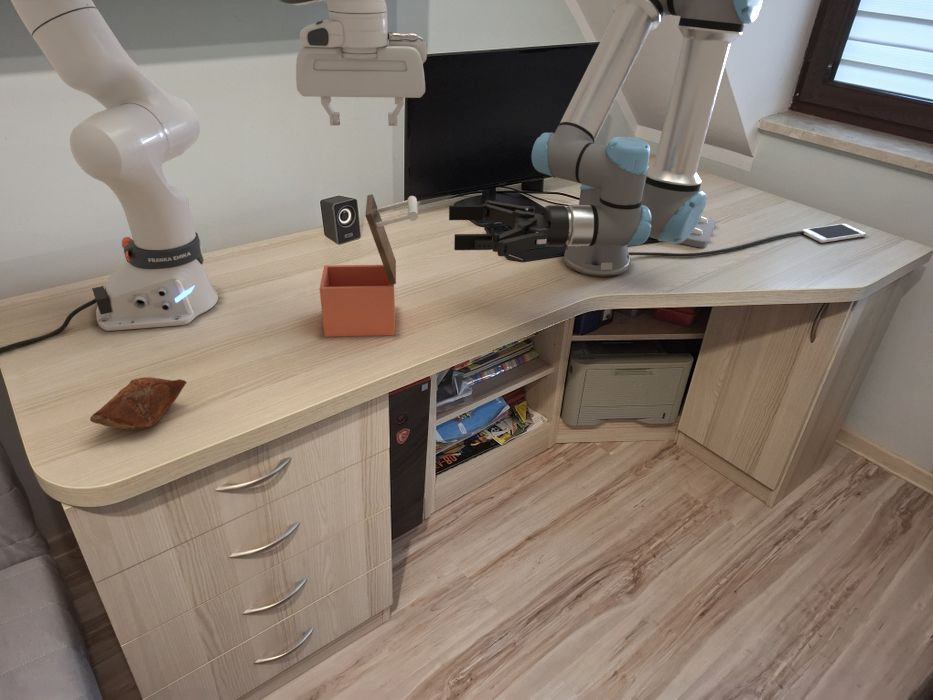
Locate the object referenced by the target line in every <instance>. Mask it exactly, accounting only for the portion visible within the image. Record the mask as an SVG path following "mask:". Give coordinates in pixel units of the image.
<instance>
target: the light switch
mask: <svg viewBox="0 0 933 700" xmlns="http://www.w3.org/2000/svg"><path fill="white" fill-rule="evenodd" d="M715 225H716V219H715V218H712V217H707V216H702V215H701V218H700V220H699V222H698V223H697V225H696V227H695V228H694V230H693V231H692V233H691V234H690V235H689V237H688V238H687V239H686V240H684V241H683V242H681V243H679V245H680V244H681V245H685V246H691V247H695V248H699V249H700V248H702V249H704V248H706V247H707V246H708V243H709V240H710V238H711V237H712V233H713V230H714V229H715Z"/></svg>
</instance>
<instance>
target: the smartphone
mask: <svg viewBox="0 0 933 700" xmlns="http://www.w3.org/2000/svg"><path fill="white" fill-rule="evenodd" d="M801 231H804V233H803V235H805V236H807V237H808V238H811V239H813V240H815V241H816V242H819V243H820V244H821V243H823V244H824V243H829V242H835V241H842V240H849V239H855V238H861V237H865V236H866V232H864V231H863V230H860V229H858V228H856V227H853V226H851V225H849V224H847V223H837V224H831V225H824V226H823V225H822V226H818V227H817V226H816V227H810V228H803V229H801Z"/></svg>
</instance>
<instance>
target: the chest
mask: <svg viewBox="0 0 933 700" xmlns="http://www.w3.org/2000/svg"><path fill="white" fill-rule="evenodd" d="M319 297H320V307H321V316H322V326H323V334H324V335H323V336H324V337H325V338H327V337H331V338H332V337H367V336H368V337H372V336H373V337H374V336H376V337H377V336H396V300H395V297H396V295H395V284H393V285H390V282H389V279H388V277H387V274H386V271H385V268H384V266H383V264H335V265H332V264H330V265H328V264H327V265H326V264H325V265H324V266H323V270H322V275H321V280H320V284H319Z"/></svg>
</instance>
